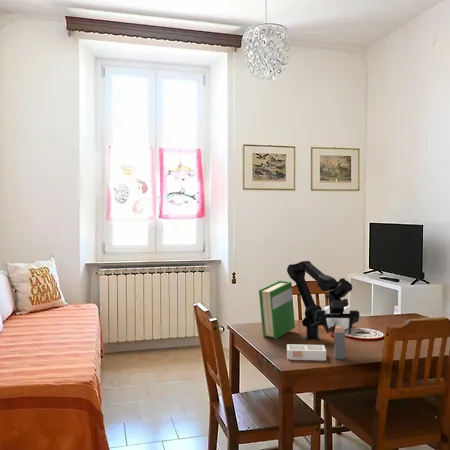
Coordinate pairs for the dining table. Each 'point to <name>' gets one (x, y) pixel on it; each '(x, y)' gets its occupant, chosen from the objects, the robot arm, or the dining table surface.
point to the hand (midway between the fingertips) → (338, 333)
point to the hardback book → (277, 309)
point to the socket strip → (306, 352)
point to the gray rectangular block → (339, 342)
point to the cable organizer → (338, 321)
